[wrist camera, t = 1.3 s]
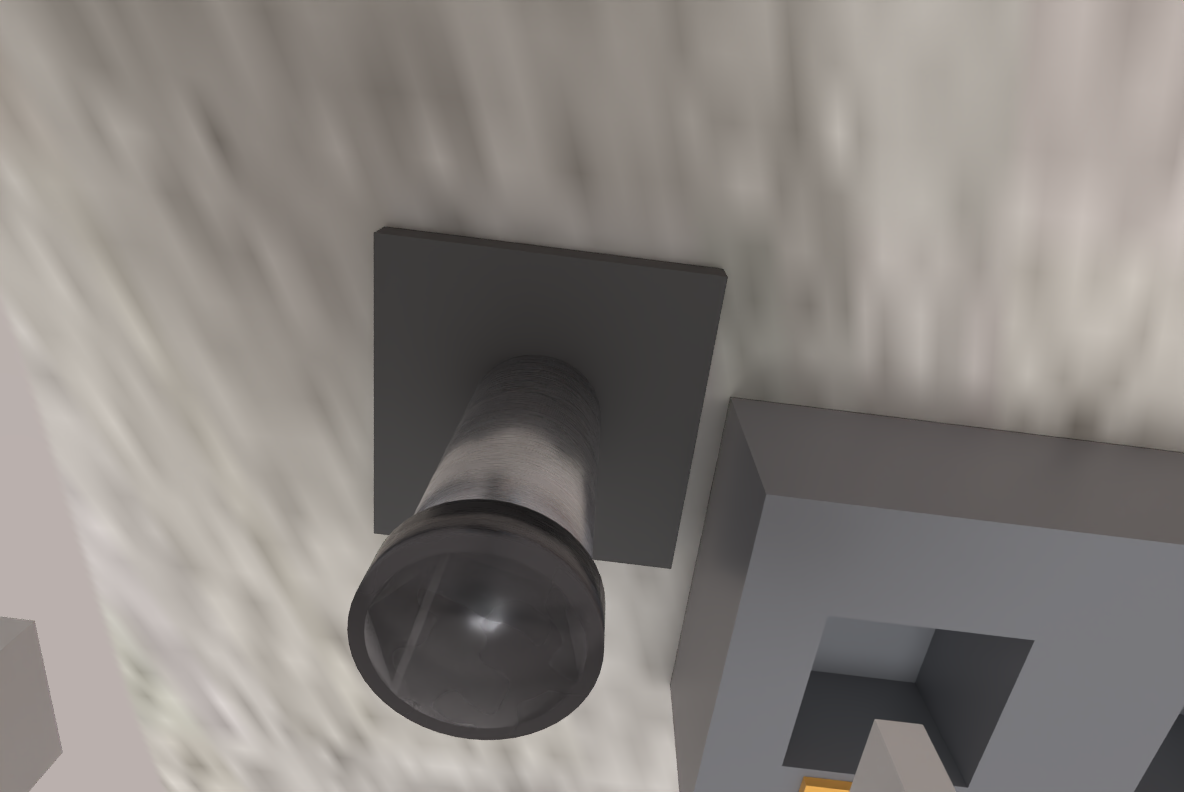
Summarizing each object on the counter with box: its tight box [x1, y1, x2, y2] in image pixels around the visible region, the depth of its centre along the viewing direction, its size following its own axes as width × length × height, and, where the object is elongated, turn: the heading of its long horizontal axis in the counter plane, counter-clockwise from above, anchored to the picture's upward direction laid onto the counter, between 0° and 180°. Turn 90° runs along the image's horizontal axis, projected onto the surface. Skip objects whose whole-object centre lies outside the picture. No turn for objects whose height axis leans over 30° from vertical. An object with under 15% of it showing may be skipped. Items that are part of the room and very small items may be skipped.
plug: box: [347, 354, 605, 740], centre depth 17 cm, size 5×5×10 cm
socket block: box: [670, 397, 1184, 792], centre depth 22 cm, size 12×20×6 cm, turn 83°
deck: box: [374, 227, 728, 569], centre depth 23 cm, size 10×10×1 cm
